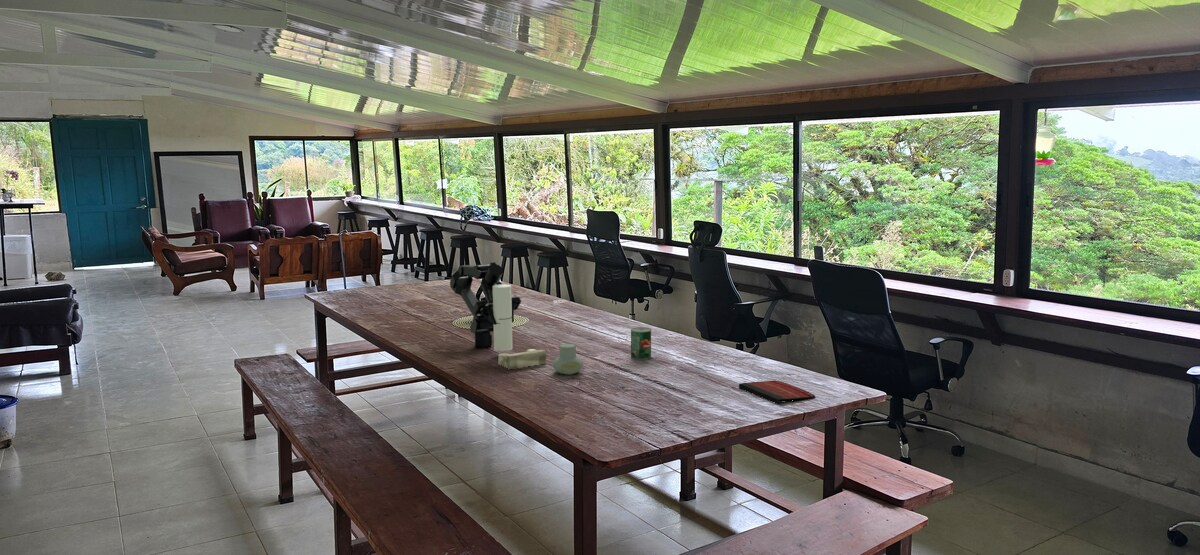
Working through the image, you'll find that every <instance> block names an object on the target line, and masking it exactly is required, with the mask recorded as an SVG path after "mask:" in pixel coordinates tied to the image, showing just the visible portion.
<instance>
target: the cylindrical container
mask: <svg viewBox="0 0 1200 555" xmlns="http://www.w3.org/2000/svg"><path fill="white" fill-rule="evenodd" d="M511 297H512V285H511V284H504V283H503V284H496V285H494V286H493V308H492V314H493V316H494V318H495V321H496V325H494V331H493V349H494V351H495V352H508V351H512V350H513V323H512V301H511Z"/></svg>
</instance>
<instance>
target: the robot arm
mask: <svg viewBox="0 0 1200 555" xmlns="http://www.w3.org/2000/svg"><path fill="white" fill-rule="evenodd" d="M503 273H504V268H503V267H502V266H501V265H500V264H497V263H496V262H490V263H489V264H488V263H486V264H476V265H470V264H463V265H460V266H458V268H457V270H456V271H455V272H453V274H452V275H451V278H450V281H449V286H450V288H451V290H452V291H453V292H454V293H455V294H457V295H459V296H461V298H462V299H463V301H464V303H465V305H466V306H467V308H468V310H469V311H470V313H471V315H472V317H473V318H472V322H471V324H470V326H469V330H470V332H471V333H472V334H474V348H475V349H484V348H485V347H490V348H492V345H493V338H492V337H493V336H492V334H491V333H492V332H494V325H496V321H495V318H494V316H493V310H492V309H493V286H494V285H497V284H499V282H500V279H501V277H502V275H503ZM473 278H474V279H476V280H481V282H480V285H479V289H480V290H483V294H484V300H478V298H477V296H476V295H475V293H474V292H473V290H472V289H471V288H472V284H473V281H474V279H473ZM511 301H512V324H513V323H514V321H515V318H514V313H515V311H516V310H518V309H519V307H520V305H521V304H522V300H521V298H520V297H519V296H511ZM485 349H486V348H485Z"/></svg>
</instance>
